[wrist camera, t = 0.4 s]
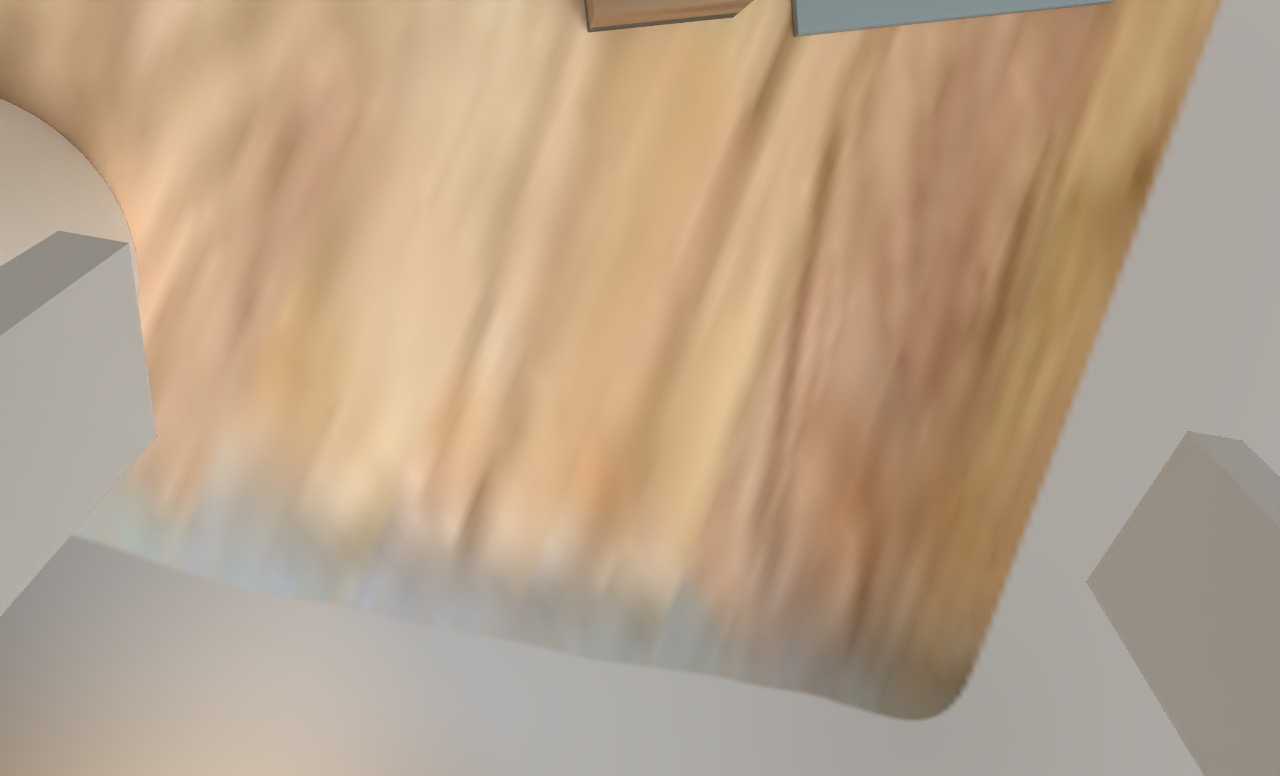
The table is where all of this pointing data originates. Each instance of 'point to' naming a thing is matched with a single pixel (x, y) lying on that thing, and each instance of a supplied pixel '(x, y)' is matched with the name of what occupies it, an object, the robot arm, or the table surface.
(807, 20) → the form board
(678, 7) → the stamp
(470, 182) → the table surface
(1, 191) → the canister
